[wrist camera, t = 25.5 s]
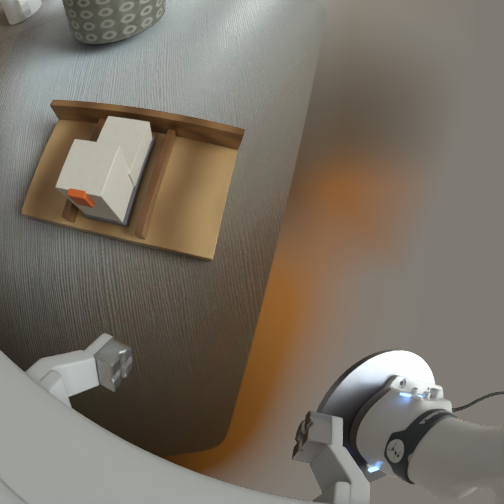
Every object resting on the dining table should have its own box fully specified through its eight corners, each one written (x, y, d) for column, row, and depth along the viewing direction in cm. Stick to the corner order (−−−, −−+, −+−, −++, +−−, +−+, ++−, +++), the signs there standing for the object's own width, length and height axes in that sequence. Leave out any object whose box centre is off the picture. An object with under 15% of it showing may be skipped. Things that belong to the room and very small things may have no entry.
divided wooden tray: (236, 152, 41) (245, 129, 34) (211, 261, 38) (215, 254, 31) (66, 122, 36) (53, 99, 29) (28, 218, 33) (6, 205, 27)
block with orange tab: (155, 142, 36) (147, 92, 25) (127, 230, 34) (103, 202, 23) (115, 135, 35) (97, 87, 24) (85, 220, 32) (49, 191, 22)
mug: (49, 9, 37) (41, -20, 27) (15, 32, 35) (3, 4, 24) (37, -2, 37) (29, -27, 26) (6, 19, 34) (-4, -5, 24)
